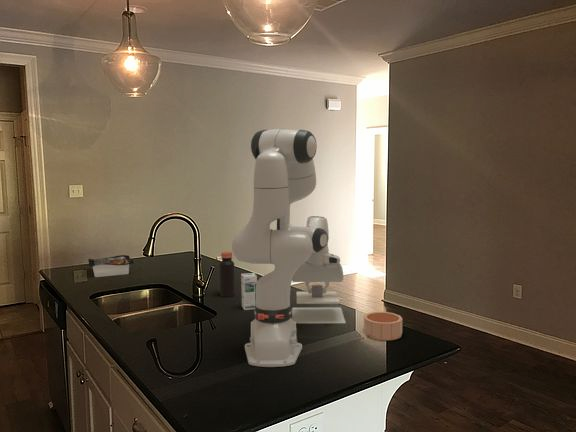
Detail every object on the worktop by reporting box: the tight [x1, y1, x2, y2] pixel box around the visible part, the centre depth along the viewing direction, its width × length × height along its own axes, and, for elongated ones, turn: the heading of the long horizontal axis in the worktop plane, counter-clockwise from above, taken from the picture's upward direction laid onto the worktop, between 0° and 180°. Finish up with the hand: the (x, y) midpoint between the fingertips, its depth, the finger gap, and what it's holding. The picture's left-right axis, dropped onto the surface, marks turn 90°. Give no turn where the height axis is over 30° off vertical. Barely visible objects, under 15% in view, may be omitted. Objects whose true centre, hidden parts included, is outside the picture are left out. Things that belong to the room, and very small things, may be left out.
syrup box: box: [240, 272, 258, 311], centre depth 203 cm, size 6×6×14 cm
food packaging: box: [88, 254, 135, 278], centre depth 274 cm, size 25×8×23 cm
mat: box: [291, 306, 347, 324], centre depth 190 cm, size 20×20×1 cm
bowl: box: [363, 311, 403, 342], centre depth 171 cm, size 13×13×6 cm
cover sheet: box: [296, 284, 341, 305], centre depth 189 cm, size 16×16×5 cm
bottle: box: [219, 251, 236, 298], centre depth 223 cm, size 7×7×20 cm
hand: (317, 293), depth 189 cm, fingers closed on cover sheet, 4 cm apart
